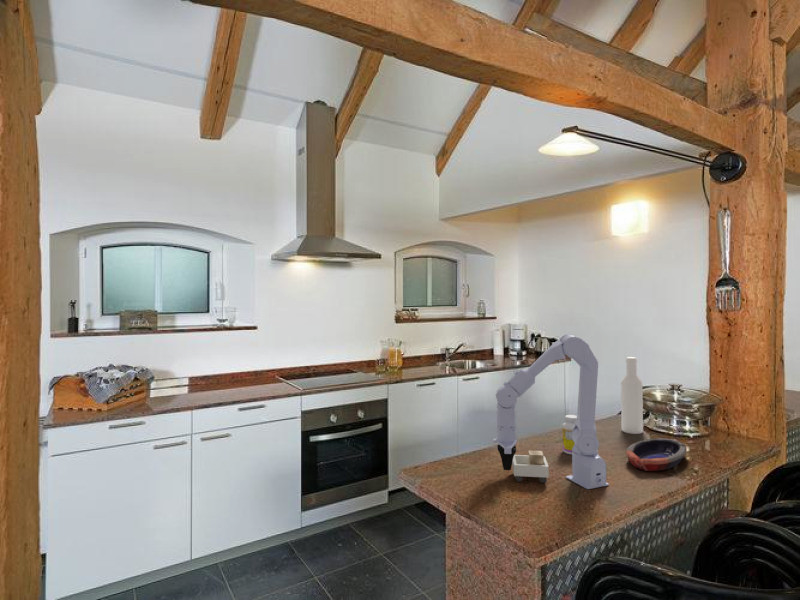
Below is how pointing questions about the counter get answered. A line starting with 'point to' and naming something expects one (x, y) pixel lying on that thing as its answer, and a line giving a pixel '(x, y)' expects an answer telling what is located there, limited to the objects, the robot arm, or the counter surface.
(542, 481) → the white open storage bin
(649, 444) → the dish
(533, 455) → the block
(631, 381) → the bottle
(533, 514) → the counter surface
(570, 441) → the supplement bottle
